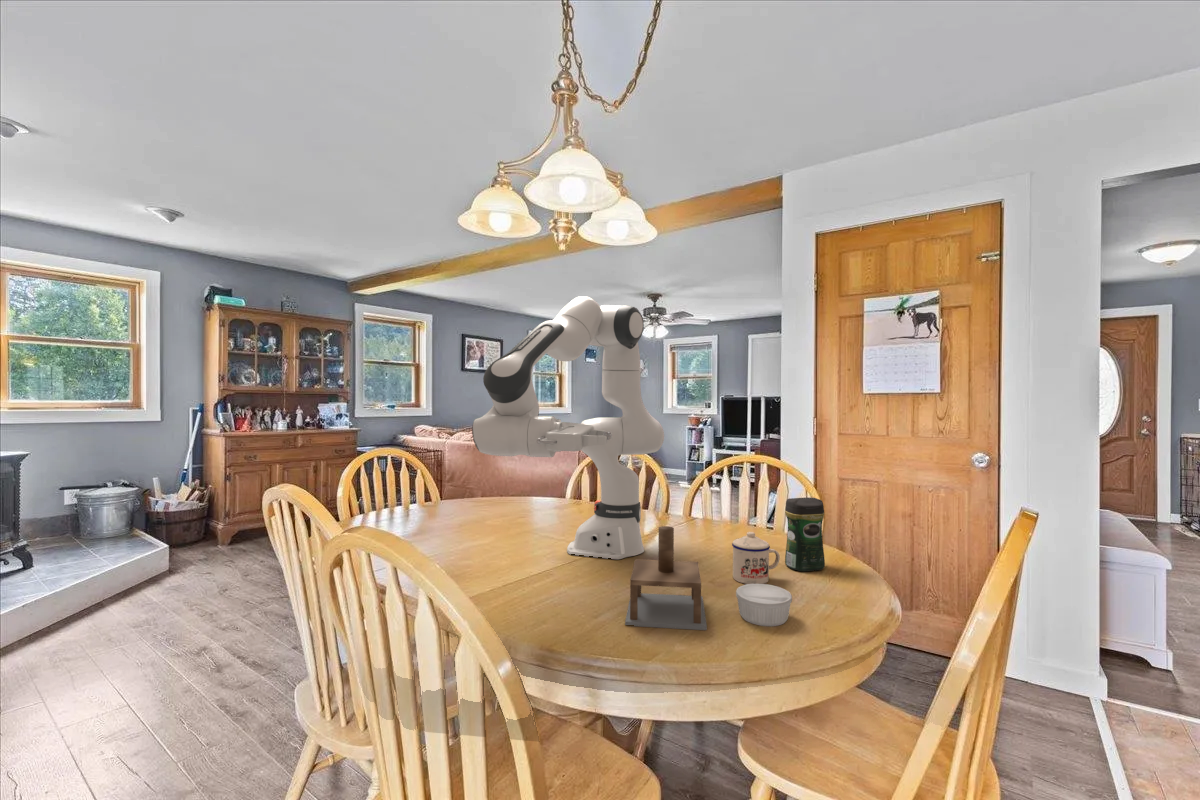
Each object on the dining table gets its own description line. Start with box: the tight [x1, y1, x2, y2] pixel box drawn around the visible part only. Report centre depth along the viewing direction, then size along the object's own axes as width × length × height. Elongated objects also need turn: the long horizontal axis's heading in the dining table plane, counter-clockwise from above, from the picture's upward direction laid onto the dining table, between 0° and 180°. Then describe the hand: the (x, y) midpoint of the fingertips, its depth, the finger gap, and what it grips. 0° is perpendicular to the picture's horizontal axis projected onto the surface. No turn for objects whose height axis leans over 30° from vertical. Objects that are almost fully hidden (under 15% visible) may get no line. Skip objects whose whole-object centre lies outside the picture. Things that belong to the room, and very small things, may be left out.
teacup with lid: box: [731, 531, 781, 585], centre depth 139 cm, size 12×9×12 cm
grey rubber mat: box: [624, 592, 708, 631], centre depth 118 cm, size 16×16×1 cm
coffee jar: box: [784, 497, 826, 572], centre depth 148 cm, size 10×8×19 cm
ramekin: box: [735, 583, 793, 627], centre depth 115 cm, size 11×11×5 cm
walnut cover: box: [629, 525, 702, 624], centre depth 118 cm, size 14×14×17 cm
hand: (609, 437), depth 119 cm, fingers open, 8 cm apart
